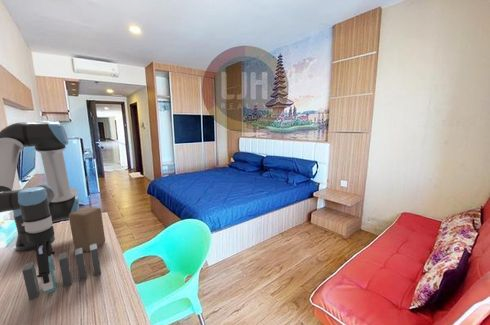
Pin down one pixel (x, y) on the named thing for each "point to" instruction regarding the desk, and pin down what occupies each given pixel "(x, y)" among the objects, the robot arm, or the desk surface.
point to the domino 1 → (31, 280)
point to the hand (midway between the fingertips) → (50, 279)
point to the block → (87, 228)
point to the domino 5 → (95, 259)
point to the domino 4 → (80, 264)
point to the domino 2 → (51, 275)
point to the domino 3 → (65, 269)
